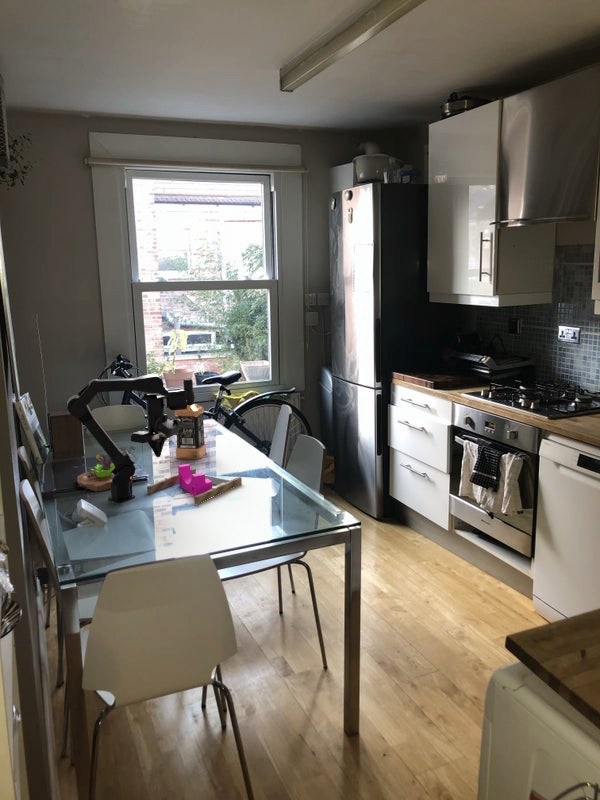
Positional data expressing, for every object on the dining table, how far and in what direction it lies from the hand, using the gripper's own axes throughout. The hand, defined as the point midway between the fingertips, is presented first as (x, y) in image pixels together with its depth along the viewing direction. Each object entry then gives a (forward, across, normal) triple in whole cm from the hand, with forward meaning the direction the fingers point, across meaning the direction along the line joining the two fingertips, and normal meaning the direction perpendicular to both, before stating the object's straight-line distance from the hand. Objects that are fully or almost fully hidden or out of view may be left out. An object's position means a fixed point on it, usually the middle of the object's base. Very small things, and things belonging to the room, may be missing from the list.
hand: (158, 457), depth 219 cm
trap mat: (+13, +19, -7) cm, 24 cm away
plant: (+14, 0, +27) cm, 30 cm away
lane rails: (+13, +10, -7) cm, 18 cm away
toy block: (+14, +9, -8) cm, 18 cm away
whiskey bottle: (+13, +41, +22) cm, 48 cm away
